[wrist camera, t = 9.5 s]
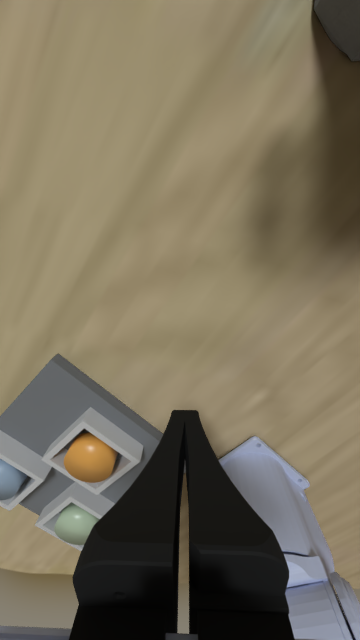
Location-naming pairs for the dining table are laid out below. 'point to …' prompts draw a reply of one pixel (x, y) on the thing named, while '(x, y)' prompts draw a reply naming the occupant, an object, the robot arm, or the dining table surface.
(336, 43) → the coffeepot
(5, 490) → the button blue
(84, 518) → the button sage
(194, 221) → the dining table surface
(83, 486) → the control board
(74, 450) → the button orange
